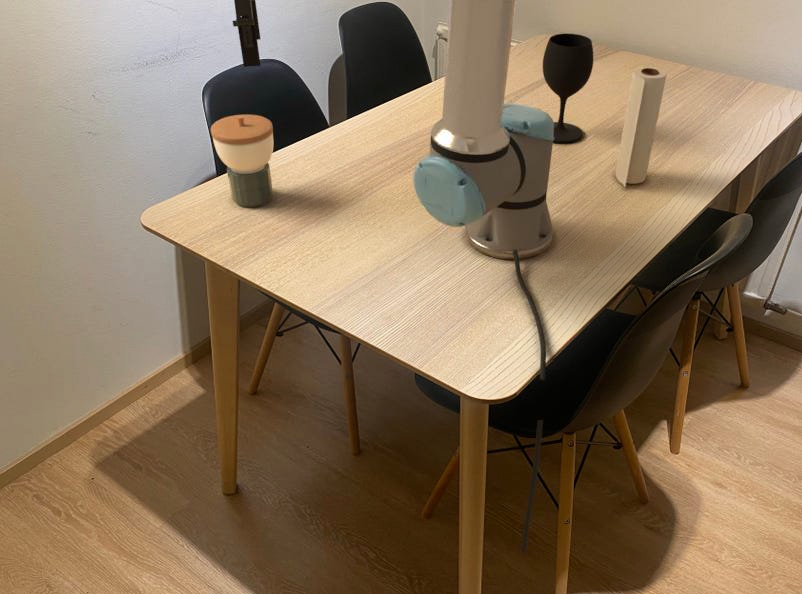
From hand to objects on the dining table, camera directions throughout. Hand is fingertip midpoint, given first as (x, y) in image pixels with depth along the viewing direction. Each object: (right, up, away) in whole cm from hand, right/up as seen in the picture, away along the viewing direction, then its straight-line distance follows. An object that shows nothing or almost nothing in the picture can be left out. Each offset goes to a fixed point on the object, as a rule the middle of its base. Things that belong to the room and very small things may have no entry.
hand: (252, 52), depth 133 cm
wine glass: (+59, +5, +31) cm, 67 cm away
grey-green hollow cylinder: (-3, -23, +12) cm, 26 cm away
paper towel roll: (+70, -17, +22) cm, 75 cm away
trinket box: (-3, -18, +8) cm, 20 cm away
